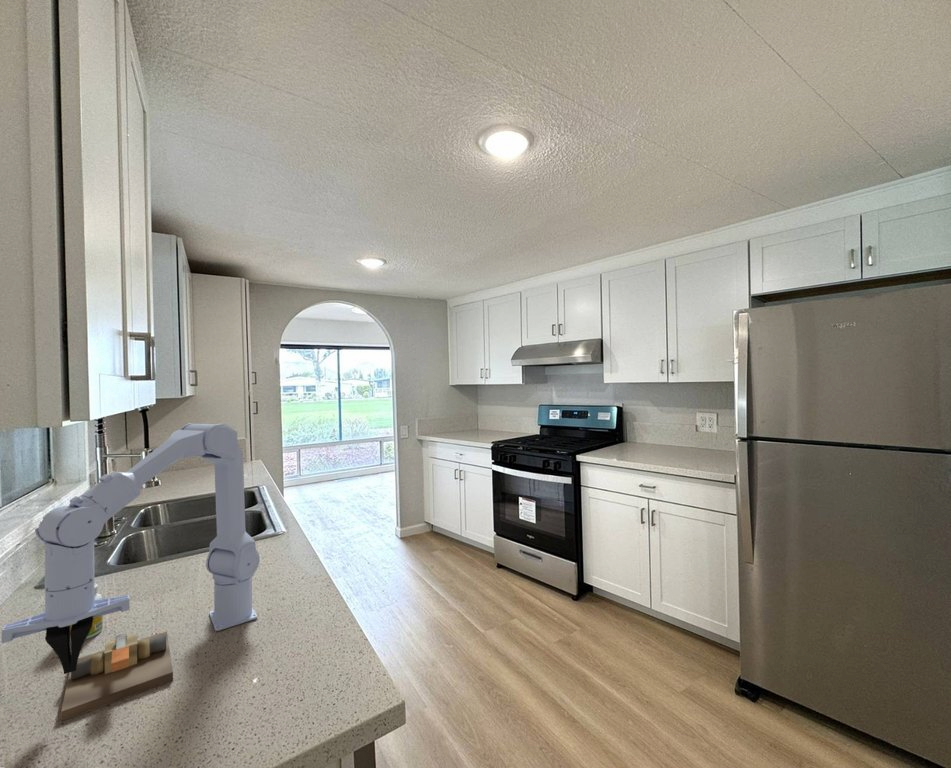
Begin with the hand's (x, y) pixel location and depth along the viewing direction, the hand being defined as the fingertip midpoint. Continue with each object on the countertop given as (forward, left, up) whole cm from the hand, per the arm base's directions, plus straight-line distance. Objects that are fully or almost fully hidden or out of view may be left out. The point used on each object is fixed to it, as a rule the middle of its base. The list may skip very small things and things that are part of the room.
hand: (70, 669), depth 67 cm
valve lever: (-3, +6, -1) cm, 7 cm away
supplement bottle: (-27, 0, -7) cm, 28 cm away
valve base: (-7, +6, -7) cm, 11 cm away
